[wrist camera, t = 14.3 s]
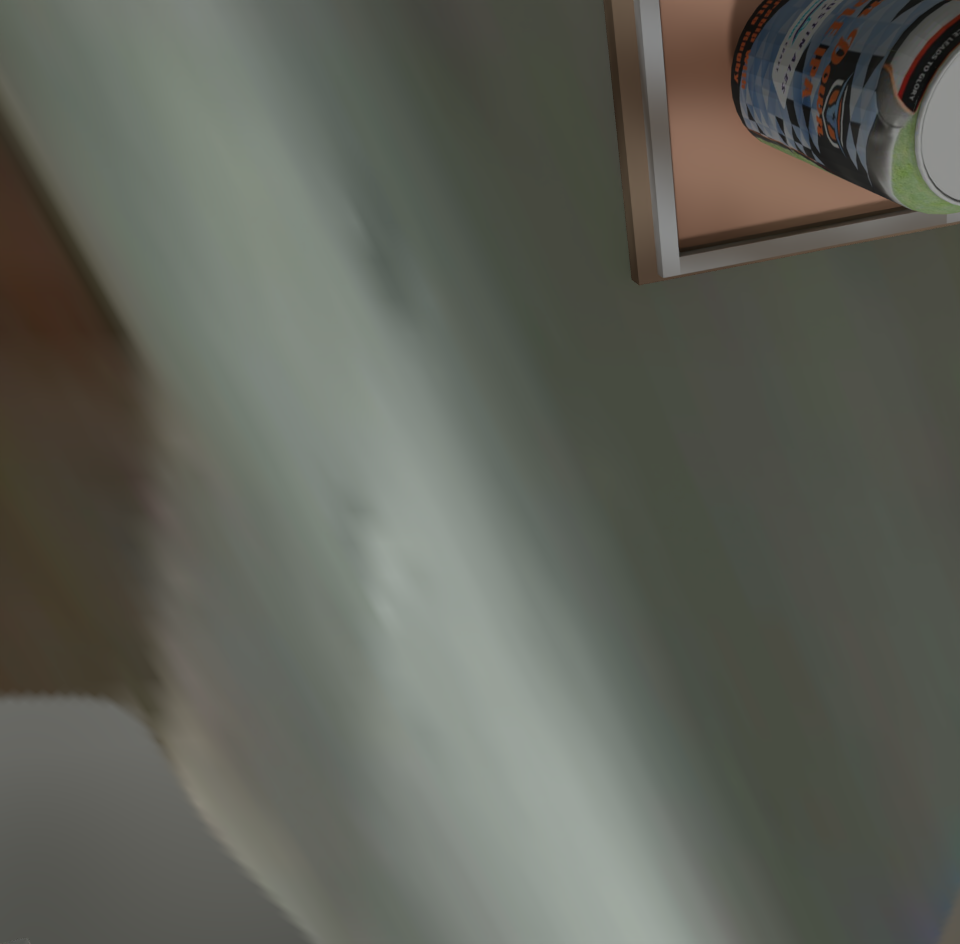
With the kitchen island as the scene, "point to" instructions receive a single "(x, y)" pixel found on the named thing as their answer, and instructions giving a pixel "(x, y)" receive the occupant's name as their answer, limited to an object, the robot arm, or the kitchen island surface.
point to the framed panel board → (717, 154)
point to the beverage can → (858, 92)
